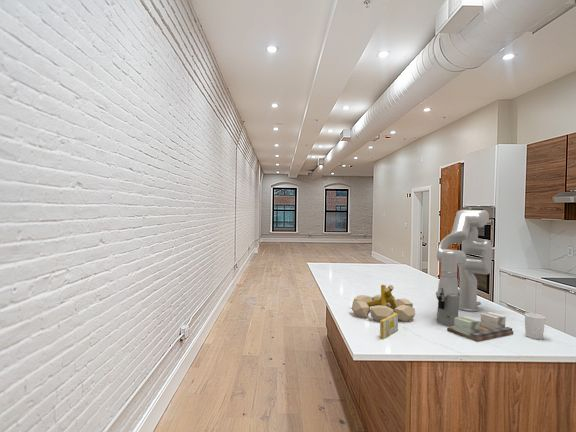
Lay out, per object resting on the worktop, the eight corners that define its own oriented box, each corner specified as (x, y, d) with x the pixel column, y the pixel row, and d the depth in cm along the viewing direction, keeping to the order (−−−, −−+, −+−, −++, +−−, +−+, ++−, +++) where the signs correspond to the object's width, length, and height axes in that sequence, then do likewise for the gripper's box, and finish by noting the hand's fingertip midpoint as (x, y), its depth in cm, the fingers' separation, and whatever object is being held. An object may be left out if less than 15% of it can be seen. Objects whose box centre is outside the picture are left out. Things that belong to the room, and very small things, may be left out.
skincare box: (436, 322, 188) (437, 292, 188) (445, 320, 191) (446, 291, 191) (449, 326, 180) (450, 295, 180) (459, 325, 183) (460, 294, 183)
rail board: (482, 324, 185) (482, 310, 185) (513, 334, 171) (513, 318, 171) (447, 330, 174) (447, 315, 174) (477, 341, 159) (477, 325, 159)
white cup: (535, 340, 163) (536, 318, 163) (520, 334, 171) (520, 313, 171) (548, 339, 165) (549, 317, 165) (532, 333, 173) (533, 312, 173)
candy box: (394, 329, 174) (394, 312, 174) (398, 330, 173) (398, 313, 172) (379, 338, 161) (379, 320, 161) (384, 339, 160) (384, 321, 160)
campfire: (419, 326, 180) (420, 292, 180) (350, 320, 187) (351, 288, 187) (409, 308, 215) (410, 280, 214) (352, 304, 221) (353, 276, 221)
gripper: (454, 273, 192) (453, 304, 192) (431, 274, 185) (430, 307, 185) (466, 275, 185) (465, 308, 186) (443, 276, 178) (442, 311, 178)
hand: (448, 307), depth 185 cm, fingers open, 9 cm apart
